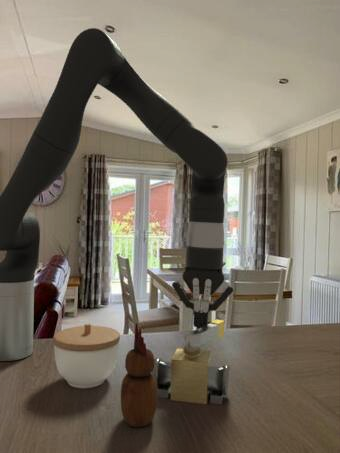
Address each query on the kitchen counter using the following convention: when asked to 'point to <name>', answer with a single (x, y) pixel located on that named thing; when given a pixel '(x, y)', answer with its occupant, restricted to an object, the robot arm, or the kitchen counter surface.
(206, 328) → the lever
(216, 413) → the kitchen counter surface
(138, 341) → the wooden figurine
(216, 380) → the ball valve
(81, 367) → the lidded bowl
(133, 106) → the robot arm
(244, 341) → the kitchen counter surface
